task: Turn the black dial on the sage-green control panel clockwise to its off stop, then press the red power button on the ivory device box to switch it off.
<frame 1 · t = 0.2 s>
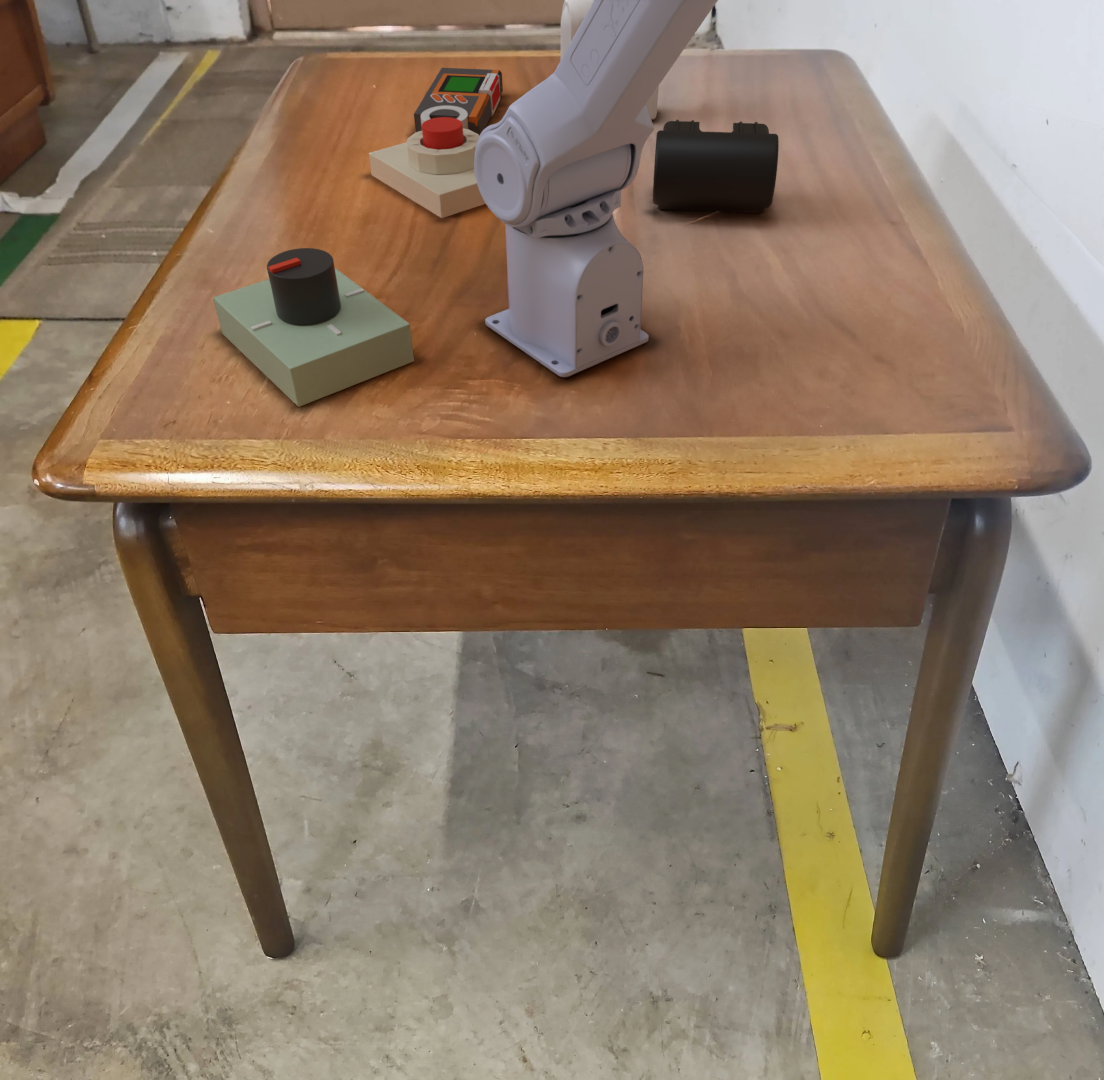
dial: (304, 284, 69), point 5 cm above the table, hinge at 90.0°
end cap: (709, 210, 89), on the table
button box: (447, 183, 94), on the table
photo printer: (609, 121, 105), on the table
power button: (442, 134, 91), point 5 cm above the table, slide at 0.2 cm
dial panel: (316, 347, 73), on the table
electronic device: (458, 121, 106), on the table
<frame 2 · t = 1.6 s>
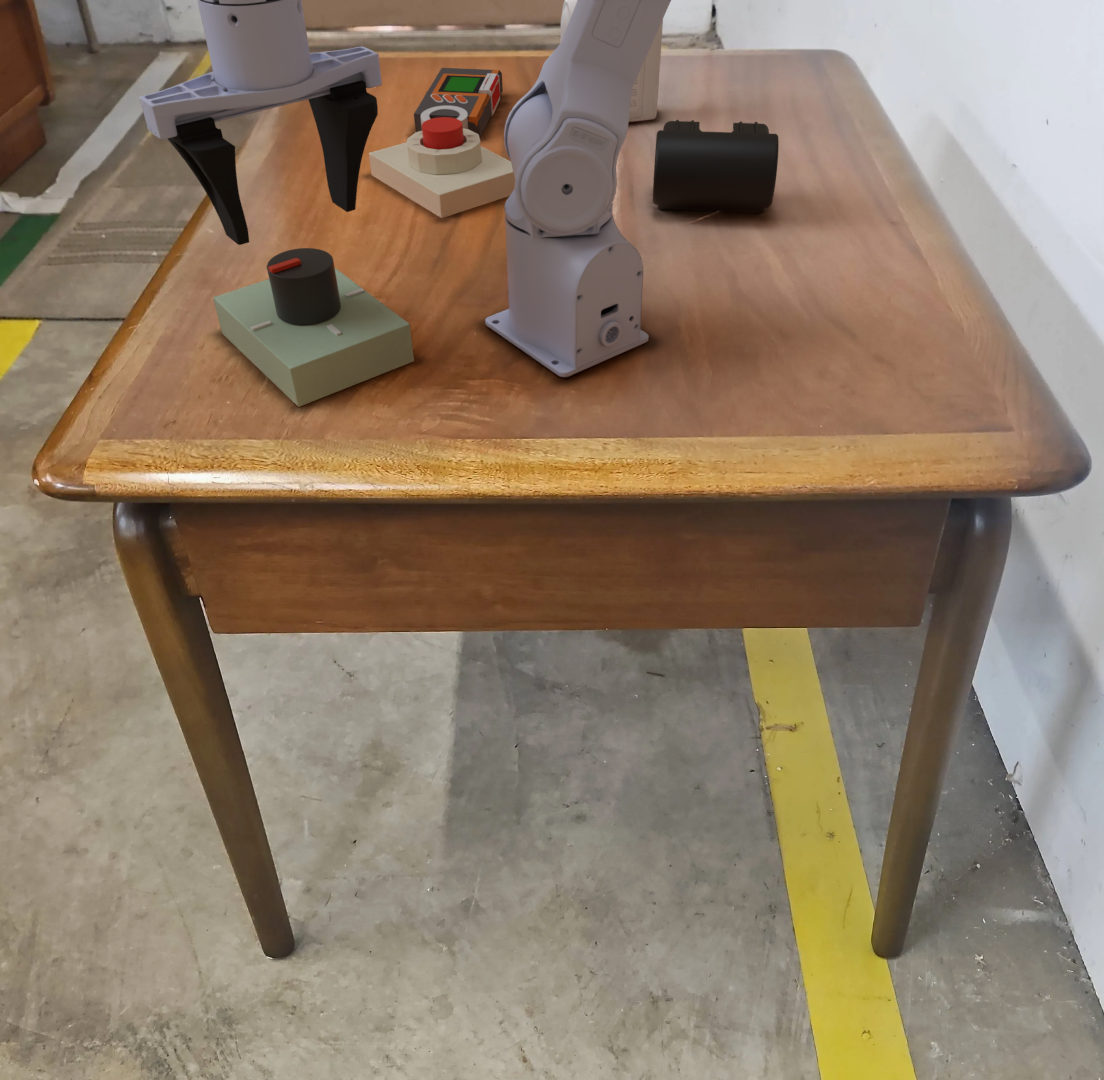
hand: (292, 221, 66), 9 cm above the table, tool pointing down, fingers open, 7 cm apart
nothing on the table moved.
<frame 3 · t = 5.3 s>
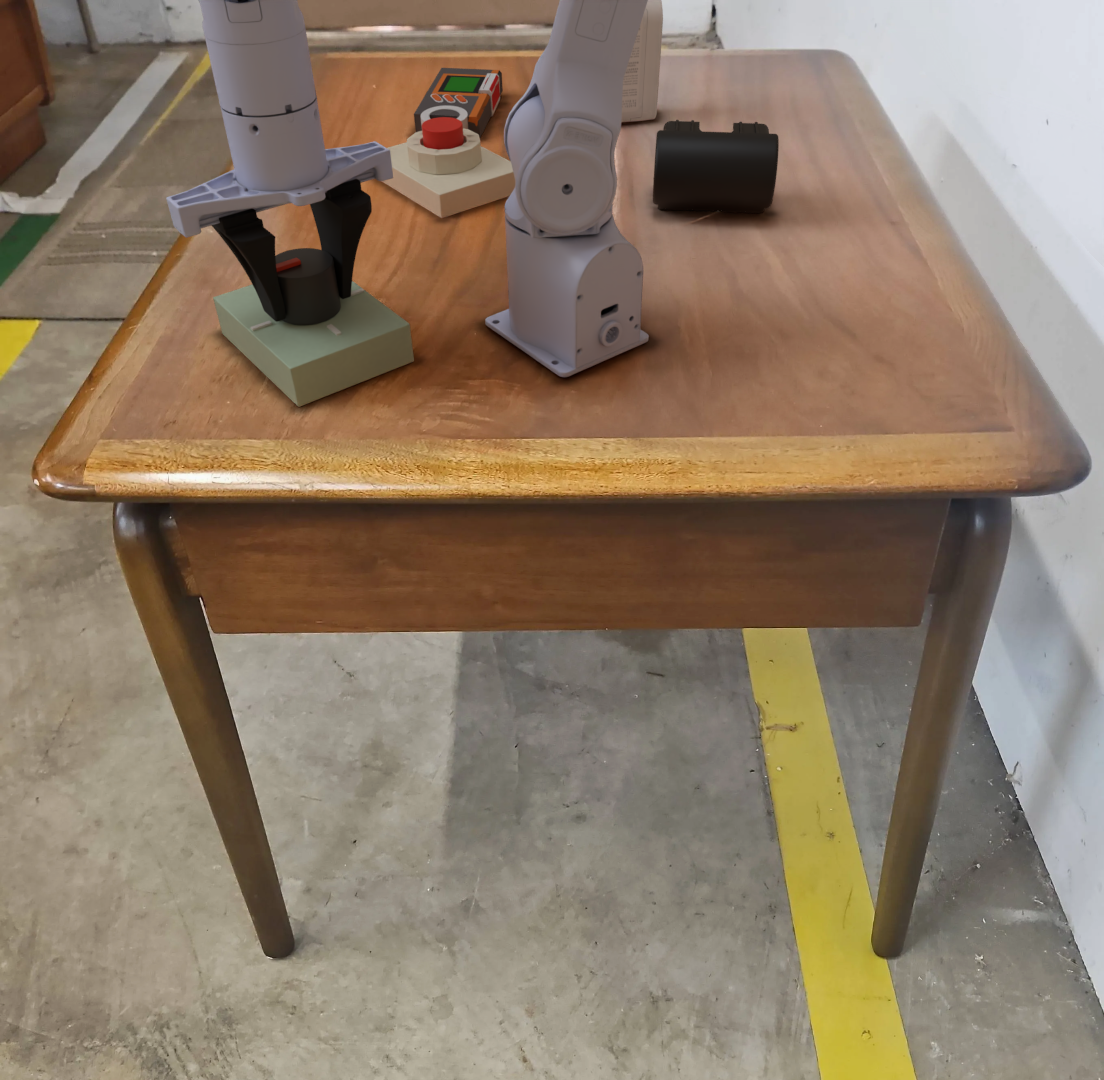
hand: (307, 303, 70), 4 cm above the table, tool pointing down, fingers closed on dial, 4 cm apart
dial: (304, 284, 69), point 5 cm above the table, hinge at 90.0°, touching gripper
everything else where it was.
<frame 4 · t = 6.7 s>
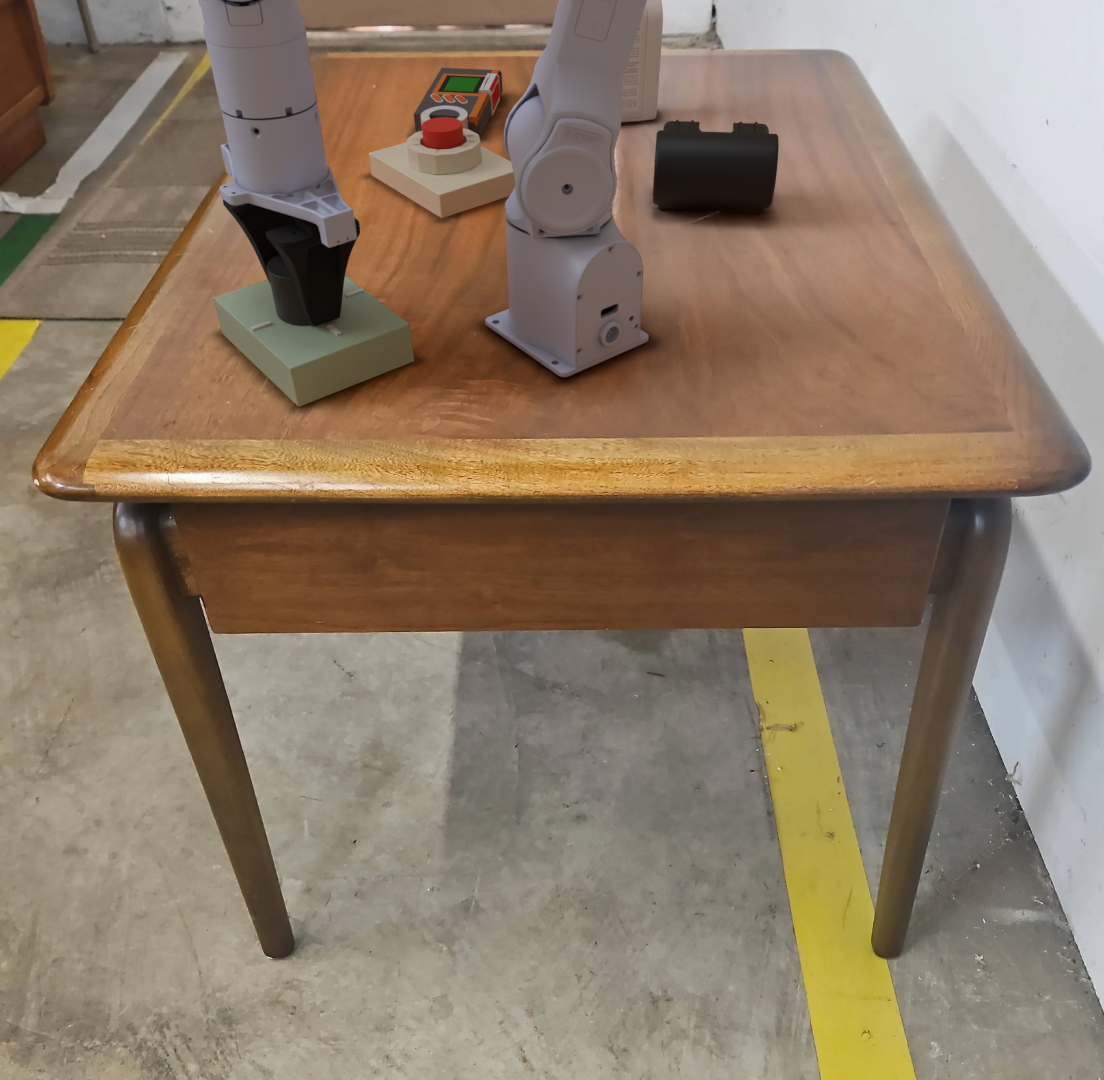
hand: (307, 305, 70), 3 cm above the table, tool pointing down, fingers closed on dial, 4 cm apart
dial: (304, 284, 69), point 5 cm above the table, hinge at 1.3°, touching gripper
everything else where it was.
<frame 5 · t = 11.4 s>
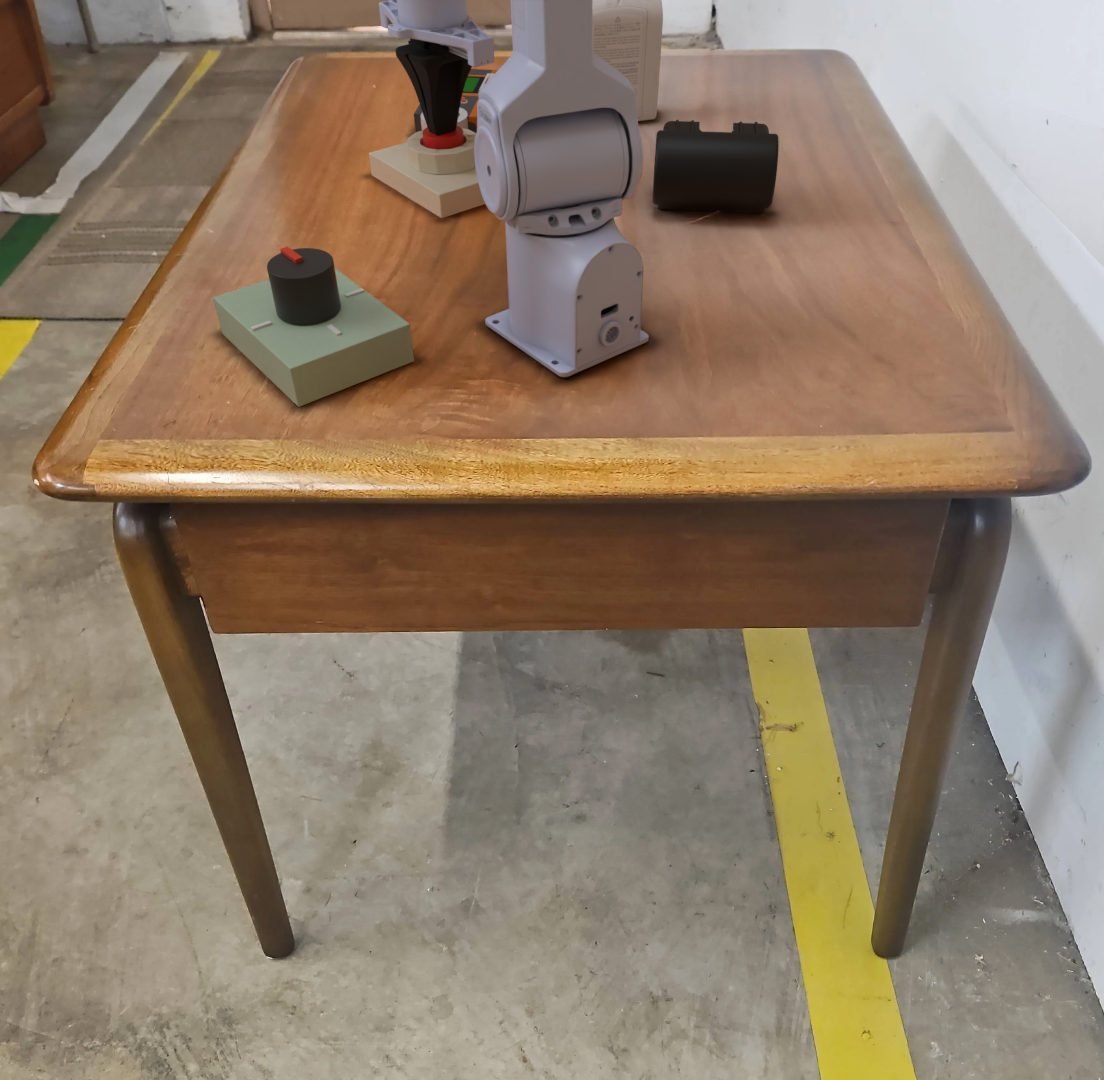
hand: (442, 131, 91), 5 cm above the table, tool pointing down, fingers closed, pressing on power button
dial: (304, 284, 69), point 5 cm above the table, hinge at 2.0°
power button: (443, 140, 91), point 4 cm above the table, slide at -0.4 cm, touching gripper
everything else where it was.
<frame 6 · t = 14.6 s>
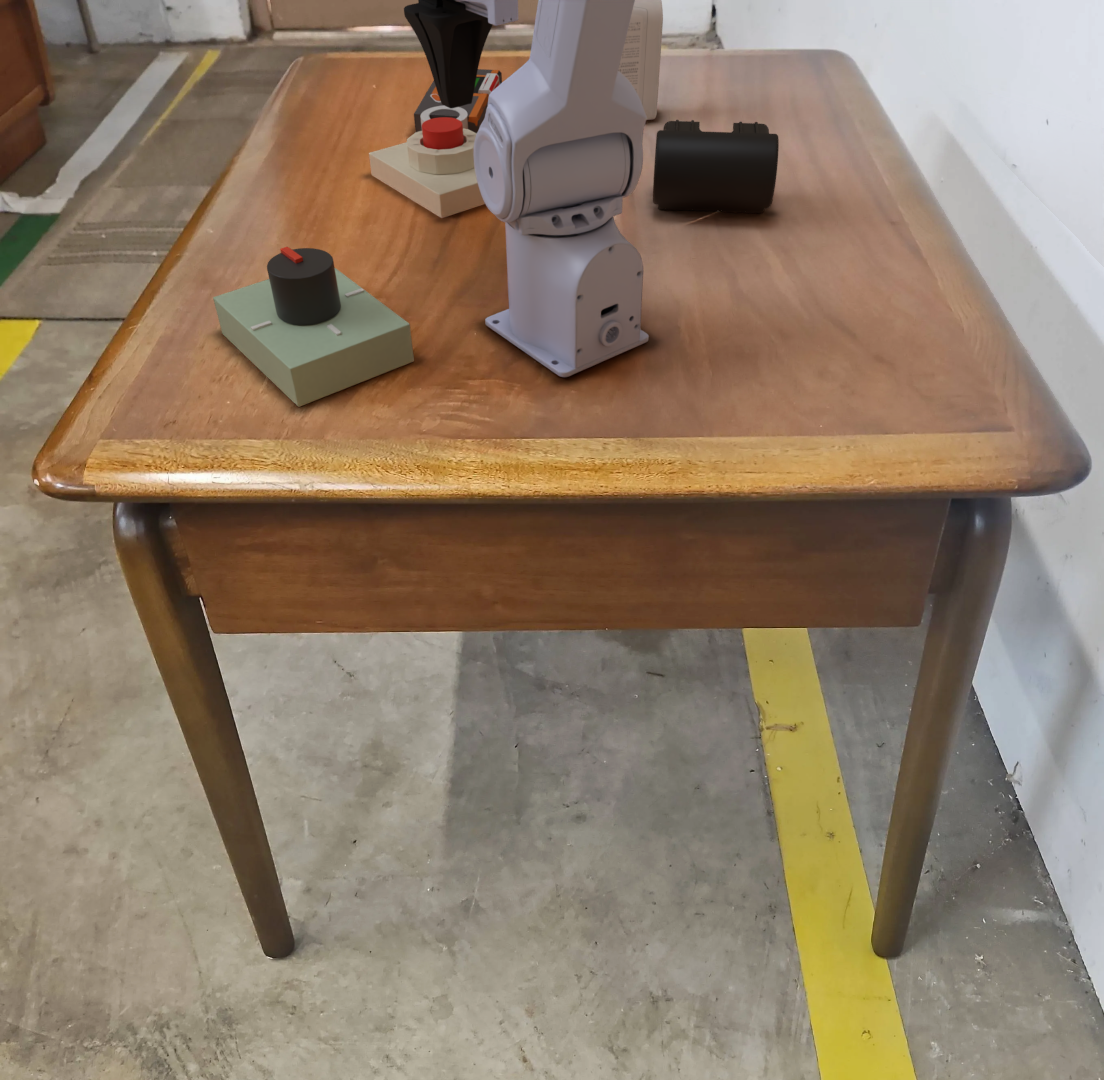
hand: (456, 103, 80), 10 cm above the table, tool pointing down, fingers closed
power button: (442, 134, 91), point 5 cm above the table, slide at 0.2 cm
everything else where it was.
at the end: dial at +2° (first picture: +90°); power button pushed in 1.2 cm at the most during the clip, back to 0.2 cm at the end; power button slide at 0.2 cm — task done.
